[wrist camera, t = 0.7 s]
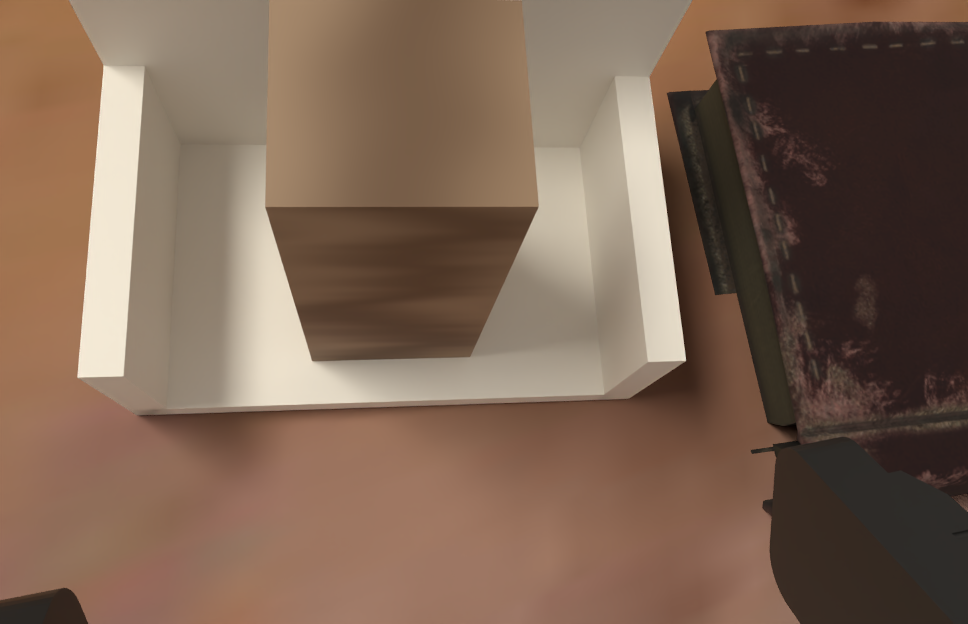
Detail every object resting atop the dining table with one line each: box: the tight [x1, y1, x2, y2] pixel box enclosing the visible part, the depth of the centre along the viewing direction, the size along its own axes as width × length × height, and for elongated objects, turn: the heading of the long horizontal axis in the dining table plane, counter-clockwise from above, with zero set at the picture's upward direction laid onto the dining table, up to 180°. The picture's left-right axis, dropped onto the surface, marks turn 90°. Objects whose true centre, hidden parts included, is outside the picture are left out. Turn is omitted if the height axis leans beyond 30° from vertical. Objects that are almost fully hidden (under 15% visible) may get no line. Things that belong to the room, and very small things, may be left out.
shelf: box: [69, 0, 692, 415], centre depth 25 cm, size 17×11×12 cm, turn 93°
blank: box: [265, 0, 539, 361], centre depth 24 cm, size 6×5×13 cm
